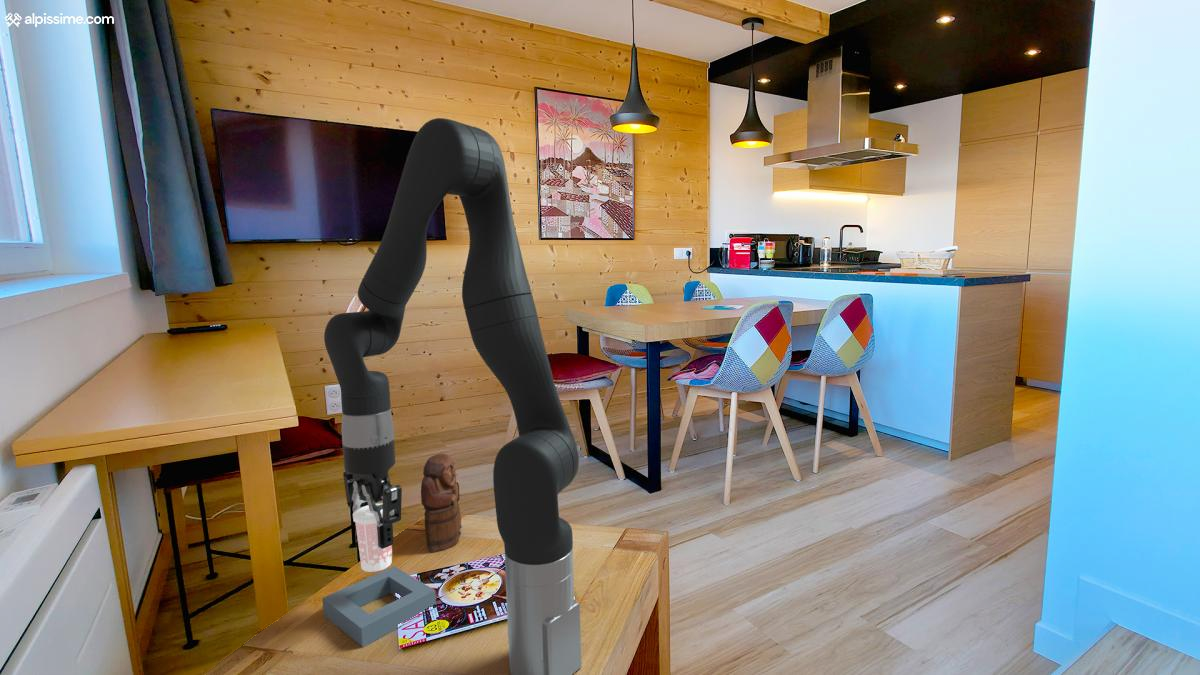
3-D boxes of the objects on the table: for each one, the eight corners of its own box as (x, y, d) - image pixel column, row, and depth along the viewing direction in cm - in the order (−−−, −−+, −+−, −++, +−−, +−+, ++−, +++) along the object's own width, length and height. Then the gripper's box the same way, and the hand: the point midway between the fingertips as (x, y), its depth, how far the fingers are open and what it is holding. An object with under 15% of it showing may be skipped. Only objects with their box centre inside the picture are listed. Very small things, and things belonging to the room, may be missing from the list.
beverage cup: (403, 556, 94) (399, 474, 92) (384, 575, 88) (379, 489, 86) (369, 553, 95) (364, 473, 93) (348, 573, 89) (342, 487, 87)
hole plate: (436, 607, 93) (435, 590, 93) (362, 647, 84) (361, 628, 83) (395, 581, 101) (394, 565, 101) (323, 615, 92) (322, 598, 91)
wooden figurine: (455, 552, 111) (450, 464, 109) (422, 554, 111) (416, 465, 109) (465, 525, 123) (461, 445, 121) (435, 527, 123) (431, 446, 121)
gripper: (415, 441, 87) (421, 544, 89) (368, 425, 96) (374, 519, 98) (369, 453, 81) (376, 564, 83) (323, 436, 91) (330, 535, 93)
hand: (375, 539), depth 91 cm, fingers closed on beverage cup, 6 cm apart
